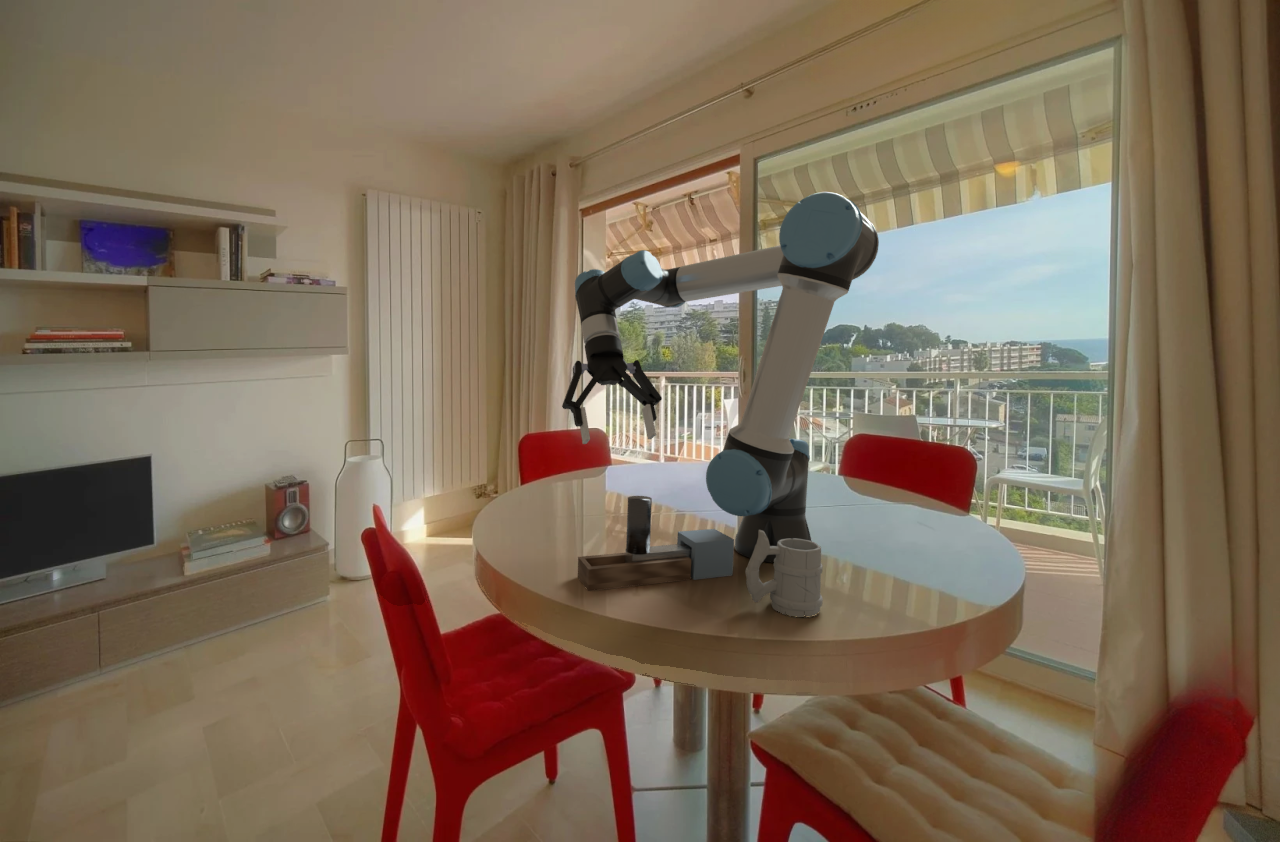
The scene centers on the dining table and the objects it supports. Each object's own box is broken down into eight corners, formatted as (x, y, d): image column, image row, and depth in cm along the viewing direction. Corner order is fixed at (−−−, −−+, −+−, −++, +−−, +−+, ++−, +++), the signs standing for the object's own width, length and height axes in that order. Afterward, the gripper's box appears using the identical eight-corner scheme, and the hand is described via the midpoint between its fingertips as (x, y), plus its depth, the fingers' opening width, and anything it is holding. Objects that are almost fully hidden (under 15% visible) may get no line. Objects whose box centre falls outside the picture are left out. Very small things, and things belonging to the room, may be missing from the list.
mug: (831, 618, 81) (836, 537, 80) (753, 620, 79) (757, 538, 78) (808, 597, 89) (812, 523, 88) (736, 599, 87) (740, 523, 86)
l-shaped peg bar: (705, 559, 101) (708, 492, 100) (715, 566, 98) (719, 496, 97) (622, 568, 96) (624, 496, 95) (630, 576, 92) (632, 501, 91)
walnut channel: (674, 567, 101) (675, 548, 100) (690, 579, 95) (691, 559, 94) (577, 577, 94) (578, 556, 94) (588, 591, 88) (588, 569, 88)
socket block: (712, 562, 104) (714, 528, 103) (732, 575, 97) (734, 539, 97) (676, 566, 101) (677, 531, 101) (693, 579, 95) (695, 542, 94)
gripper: (650, 350, 123) (670, 441, 116) (538, 350, 113) (552, 450, 107) (664, 333, 116) (685, 429, 110) (546, 332, 107) (561, 437, 100)
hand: (620, 439), depth 108 cm, fingers open, 13 cm apart
